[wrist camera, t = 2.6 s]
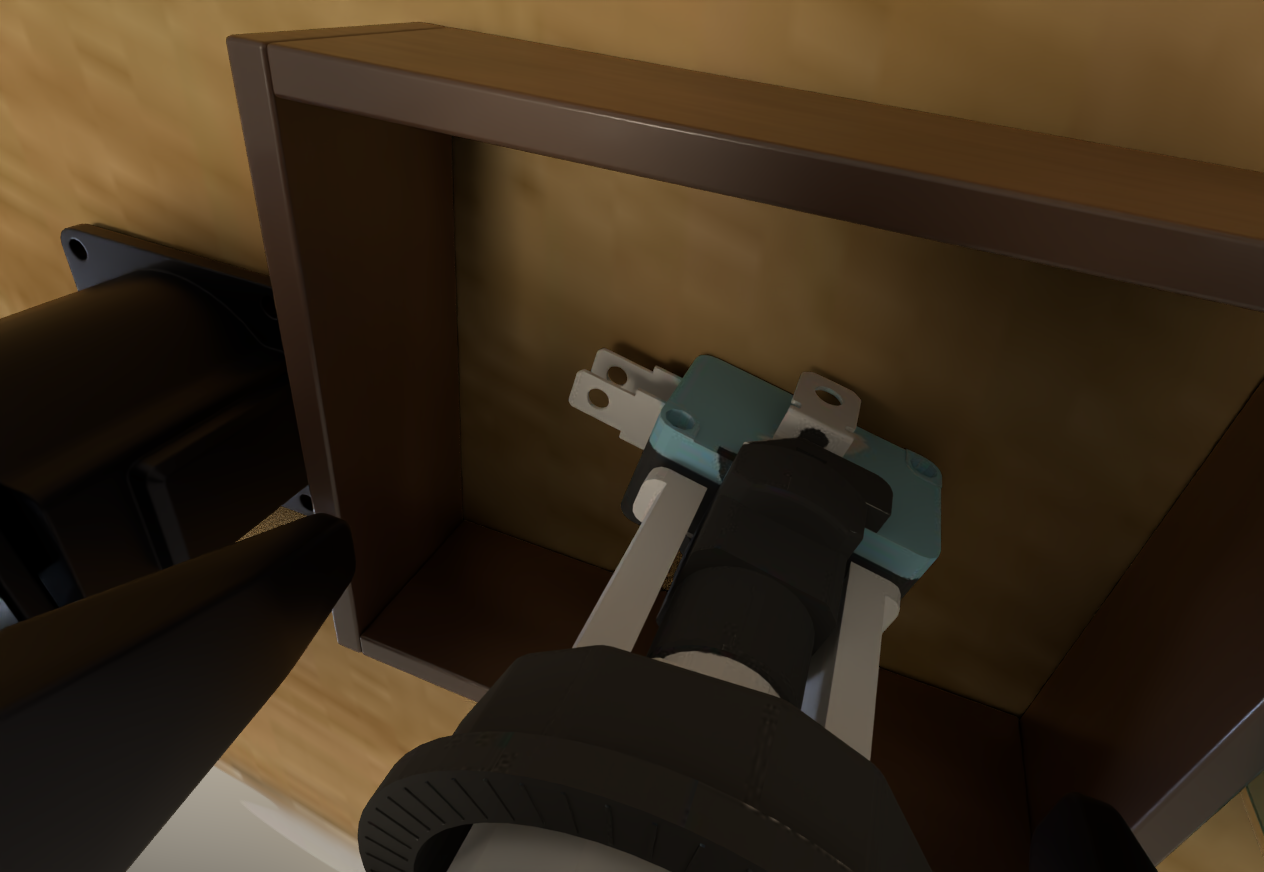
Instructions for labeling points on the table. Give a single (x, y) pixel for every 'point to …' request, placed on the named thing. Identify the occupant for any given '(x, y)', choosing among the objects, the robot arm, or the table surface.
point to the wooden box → (789, 178)
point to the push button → (698, 658)
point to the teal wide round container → (1255, 807)
